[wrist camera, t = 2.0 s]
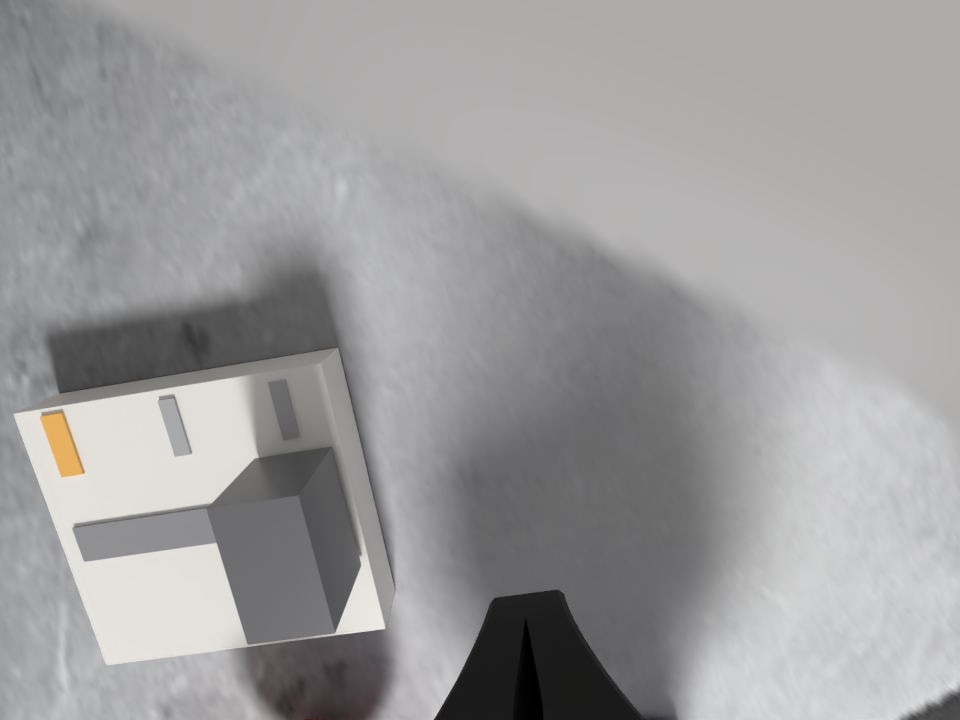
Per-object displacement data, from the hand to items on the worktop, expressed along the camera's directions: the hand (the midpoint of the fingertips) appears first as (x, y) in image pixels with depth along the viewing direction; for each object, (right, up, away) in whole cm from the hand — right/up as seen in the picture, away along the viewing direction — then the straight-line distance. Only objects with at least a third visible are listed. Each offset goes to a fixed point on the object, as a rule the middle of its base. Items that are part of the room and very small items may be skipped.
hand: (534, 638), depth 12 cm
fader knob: (-6, +1, +7) cm, 10 cm away
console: (-10, +1, +10) cm, 14 cm away
